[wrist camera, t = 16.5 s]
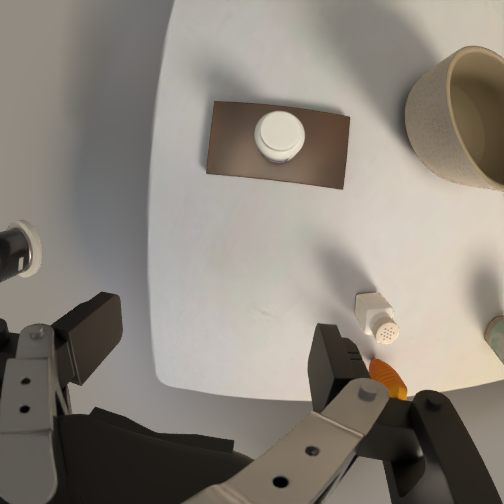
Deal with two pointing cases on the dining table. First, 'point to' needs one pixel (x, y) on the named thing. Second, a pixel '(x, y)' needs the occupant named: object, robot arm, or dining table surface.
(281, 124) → the pill bottle
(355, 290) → the dining table surface
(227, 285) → the dining table surface
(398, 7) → the dining table surface
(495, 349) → the coffee cup
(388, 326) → the pepper shaker
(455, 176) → the planter
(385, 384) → the carrot
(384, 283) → the dining table surface
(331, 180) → the board
